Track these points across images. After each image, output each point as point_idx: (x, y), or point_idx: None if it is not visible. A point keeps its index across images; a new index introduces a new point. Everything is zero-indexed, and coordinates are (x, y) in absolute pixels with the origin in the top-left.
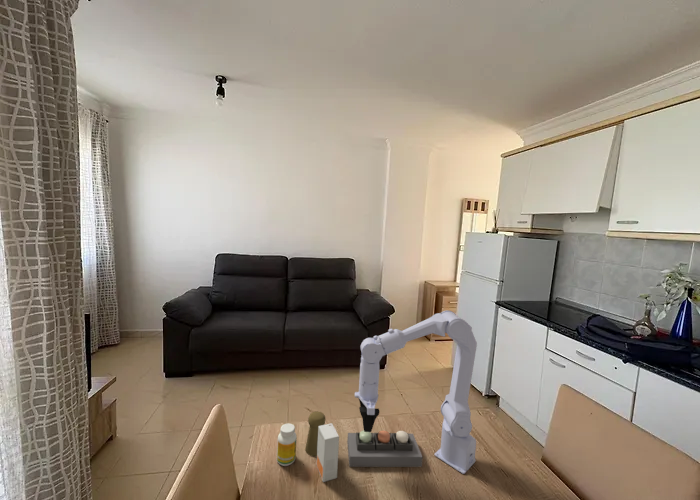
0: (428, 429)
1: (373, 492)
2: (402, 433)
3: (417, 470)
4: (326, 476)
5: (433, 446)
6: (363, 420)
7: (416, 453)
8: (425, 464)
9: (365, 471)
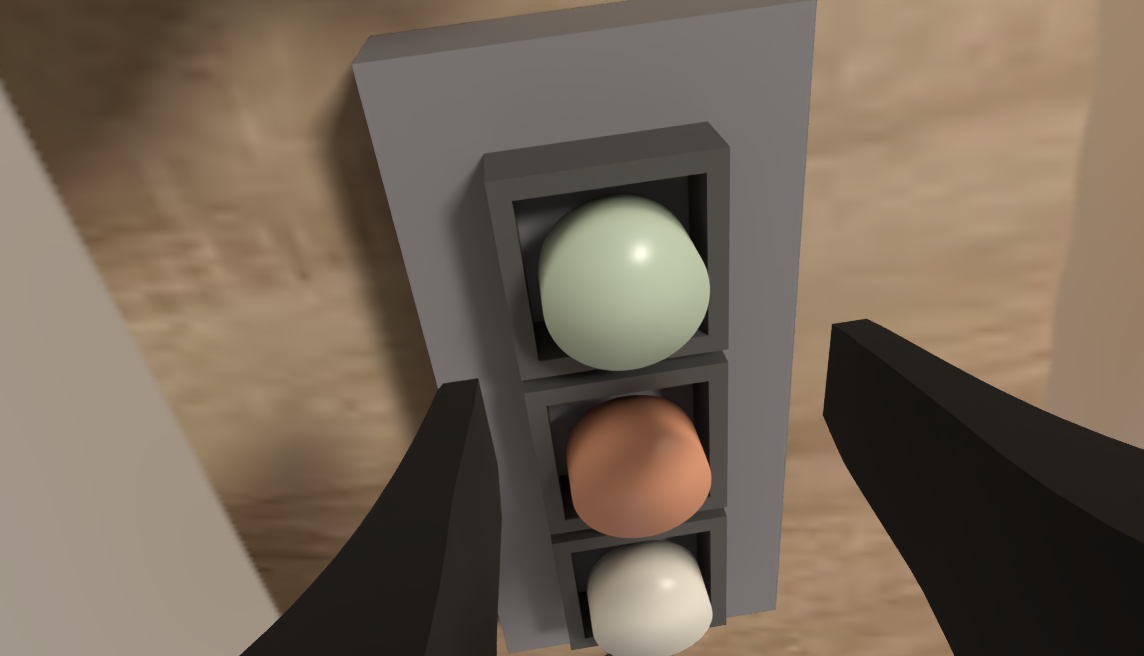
0: (885, 630)
1: (128, 288)
2: (671, 624)
3: None
4: None
5: (711, 645)
6: (343, 556)
7: (539, 625)
8: None
9: (352, 212)
